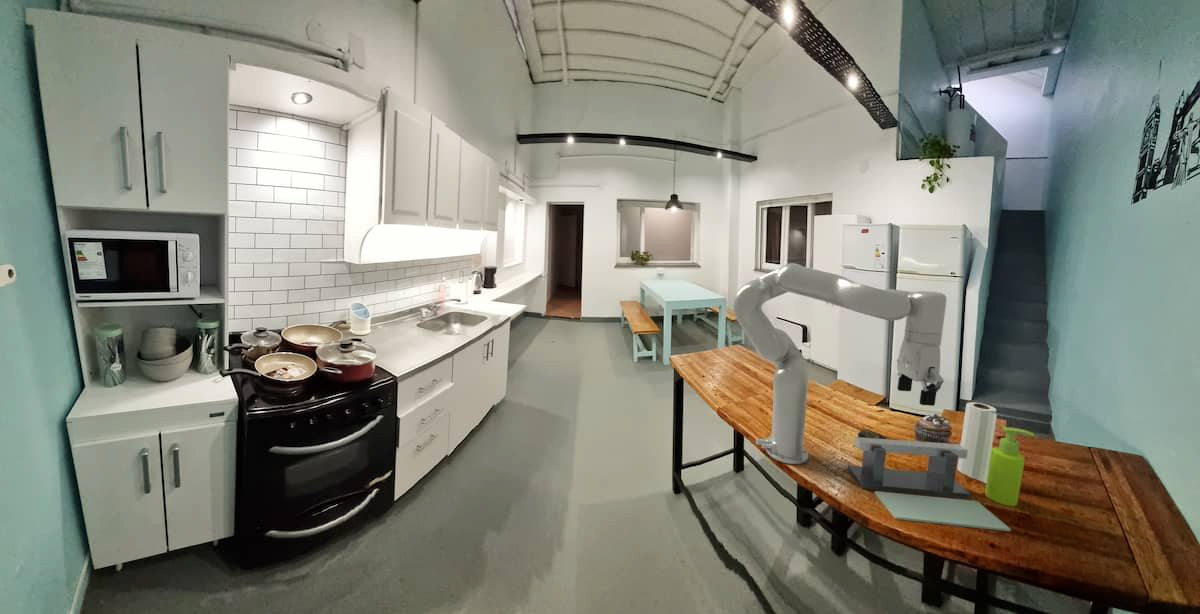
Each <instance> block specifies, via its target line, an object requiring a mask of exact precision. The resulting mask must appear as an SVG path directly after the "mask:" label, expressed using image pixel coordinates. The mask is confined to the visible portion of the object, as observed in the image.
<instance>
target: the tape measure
mask: <svg viewBox="0 0 1200 614" xmlns="http://www.w3.org/2000/svg"><path fill="white" fill-rule="evenodd" d="M857 437H862V438H876V439H887V438H886V437H885V436H884V435H881V434H879V433H878V432H875V431H872V430H870V429H868V428H866V429H862V430H860V431H859V432H857Z"/></svg>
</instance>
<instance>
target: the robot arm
mask: <svg viewBox="0 0 1200 614" xmlns="http://www.w3.org/2000/svg"><path fill="white" fill-rule="evenodd" d="M787 293H792V294H795V295H799V296H803V297H807V298H810V299H814V300H818V301H821V302H824V303H828V304H831V305H833V306H837V307H840V308H844V309H847V310H850V311H853V312H856V313H859V314H863V315H867V316H870V317H874V318H877V319H881V320H884V321H900V320H902V319H905V326H904V328H905V329H904V336H903V337H904V338H903V340H902V343H901V346H900V349H899V353H898V358H897V360H896V361H897V362H896V363H897V364H896V365H897V366H896V369H897V371H898V373H897V376H898V379H897V380H898V381H897V382H898V383H897V391H899V392H900V391H901V392H912V388H913V387H912V385H913V381H915V382H920V383H921V387H922V389H921V390H920V396H919V405H921V406H933V407H934V406H935V405H936V397H937V393H938V392H939V390H941V387H942V385H943V383H944V380H945V379H944V378H943V377H942V376H941V375H940V370H941V344H942V337H943V332H944V331H943V329H944V321H945V315H946V306H947V296H946V294H944V293H943V292H937V291H928V290H927V291H921V290H919V291H908V290H907V291H906V290H902V289H893V288H888V289H881V288H877V287H874V286H873V287H872V286H869V285H865V284H863V283H860V282H855V281H854V280H851V279H849V278H847V277H845V276H842V275H839V274H836V273H831V272H827V271H823V270H819V269H815V268H809V267H807V266H803V265H801V264H799V263H795V262H794V263H793V262H789V263H786V264H784V265H782V266H781V267H779V268H777V269H775V270H773V271H771V272H768V273H766V274H764V275H761V276H759V277H757V278H756V279H753V280H750V281H749V282H747V283H744V285H742V286H741V288H740V289H739V290H738V291H737V293H736V295H735V297H734V300H733V314H734V316H735V318H736V321H737V322H738V323H739V326H741V328H742V329H743V331H744V332H745V334H746V336H747V338H748V339H749V341H750V343H751V344H752V345H753V347H754V348H755V349H756V352H757V353H758V355H759V356H760V357H761V359H762V360H764V361H766V362H769V363H773V365H774V367H776V368H775V370H774V374H773V383H772V385H773V388H772V389H773V398H772V399H773V400H772V418H771V419H772V420H771V423H772V424H771V435H769V436H768V438H763V439H762V438H756V439H755V445H758V446H760V445H761V448H762V449H765V451H766V453H767V454H768V456H769V457H771V458H772V459H774V460H776V461H778V462H781V463H785V464H788V465H802V464H804V463H806V462H808V460H809V453H808V451H807V450H806V449H805V448H804V443H805V429H806V427H805V425H806V414H807V413H806V412H807V399H808V398H807V397H808V396H807V395H808V384H809V377H810V366H809V364H808V361H807V359H806V358H805V357H804V356H803V354H802V353H801V351H800V350H799V348H798V347H797V345H796V344H795V342H794V341H793V340H792V338H791V337H790V336H789V335H788V333H787V332H786V331H784V330H782V329H780V328H776V327H775V326H774V325H773V324H772V322H771V320H770V319H769V317H768V316H767V315H766V314H765V313H764V311H763V309H762V306H764V304H765V303H766V302H767V301H770V300H772V299H774V298H777V297H780V296H782V295H784V294H787ZM927 383H929V384H927Z"/></svg>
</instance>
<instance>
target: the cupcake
mask: <svg viewBox="0 0 1200 614" xmlns="http://www.w3.org/2000/svg"><path fill="white" fill-rule="evenodd" d="M913 430H914V438H915V441H919V442H933V443H947V444H949V440H950V439H951V437H952V434H953V433H952V426H951V425H950V421H949V419H948V418H946V417H943V416H939V415H938V414H937V413H933V414H927V415H926V416H924V417H922V418H920V419H919V420H917V423H915V424H914V425H913Z"/></svg>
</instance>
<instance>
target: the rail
mask: <svg viewBox="0 0 1200 614" xmlns="http://www.w3.org/2000/svg"><path fill="white" fill-rule="evenodd" d="M854 446H855V447H856V448H857V449H858V451H862V452H863V451H873V450H874V447H875V448H884V449H885V450H886V454H888V453H889V454H902V455H914V456H915V455H917V456H927V457H929V456H939V457H943V456H944V453H955V454H956V455H957V456H958V459H959V458H965V459H967V452H968V450H967V449H965V448H964V447H963V446H961V443H960V444H958V443H933V442H919V441H916V440H915V441H914V440H903V439H888V438H886V439H876V438H862V437H858V436H855V437H854Z"/></svg>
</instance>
